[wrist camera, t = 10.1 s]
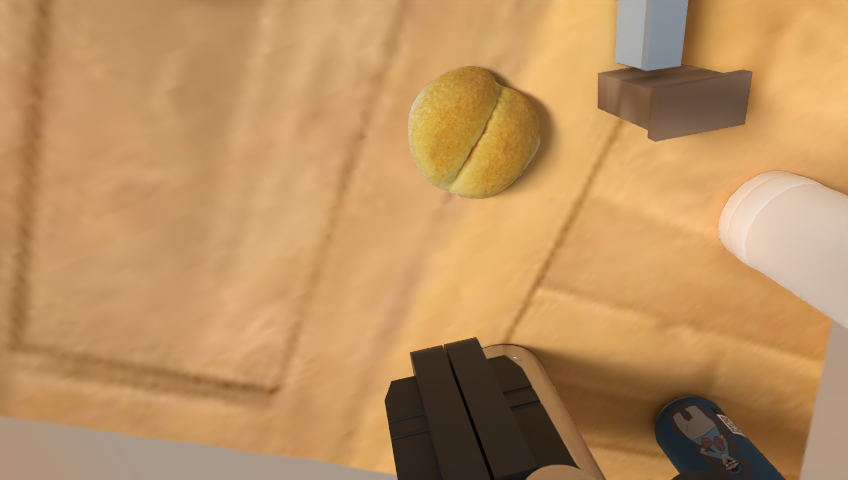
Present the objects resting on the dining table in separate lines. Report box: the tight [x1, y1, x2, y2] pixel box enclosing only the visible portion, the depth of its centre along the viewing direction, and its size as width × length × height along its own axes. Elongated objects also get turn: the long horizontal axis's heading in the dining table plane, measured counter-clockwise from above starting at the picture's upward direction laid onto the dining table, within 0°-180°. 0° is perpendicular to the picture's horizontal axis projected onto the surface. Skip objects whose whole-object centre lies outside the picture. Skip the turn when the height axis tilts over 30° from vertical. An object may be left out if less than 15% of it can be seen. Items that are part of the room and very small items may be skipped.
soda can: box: [655, 396, 786, 480], centre depth 47 cm, size 7×7×12 cm
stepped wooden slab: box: [598, 64, 752, 141], centre depth 33 cm, size 3×6×8 cm, turn 98°
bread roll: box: [408, 66, 540, 199], centre depth 34 cm, size 8×9×4 cm
